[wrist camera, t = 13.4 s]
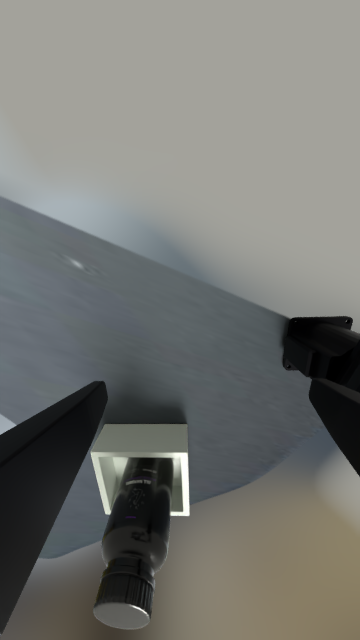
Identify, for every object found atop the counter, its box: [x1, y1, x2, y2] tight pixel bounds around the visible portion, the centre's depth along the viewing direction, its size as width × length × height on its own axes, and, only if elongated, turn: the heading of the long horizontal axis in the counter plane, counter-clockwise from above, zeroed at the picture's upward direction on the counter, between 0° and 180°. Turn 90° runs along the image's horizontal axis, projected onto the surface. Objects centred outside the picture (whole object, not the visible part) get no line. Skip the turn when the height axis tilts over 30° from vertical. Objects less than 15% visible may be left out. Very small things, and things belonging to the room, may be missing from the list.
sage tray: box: [91, 424, 189, 516], centre depth 25 cm, size 12×12×4 cm
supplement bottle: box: [93, 457, 174, 629], centre depth 20 cm, size 7×7×12 cm
